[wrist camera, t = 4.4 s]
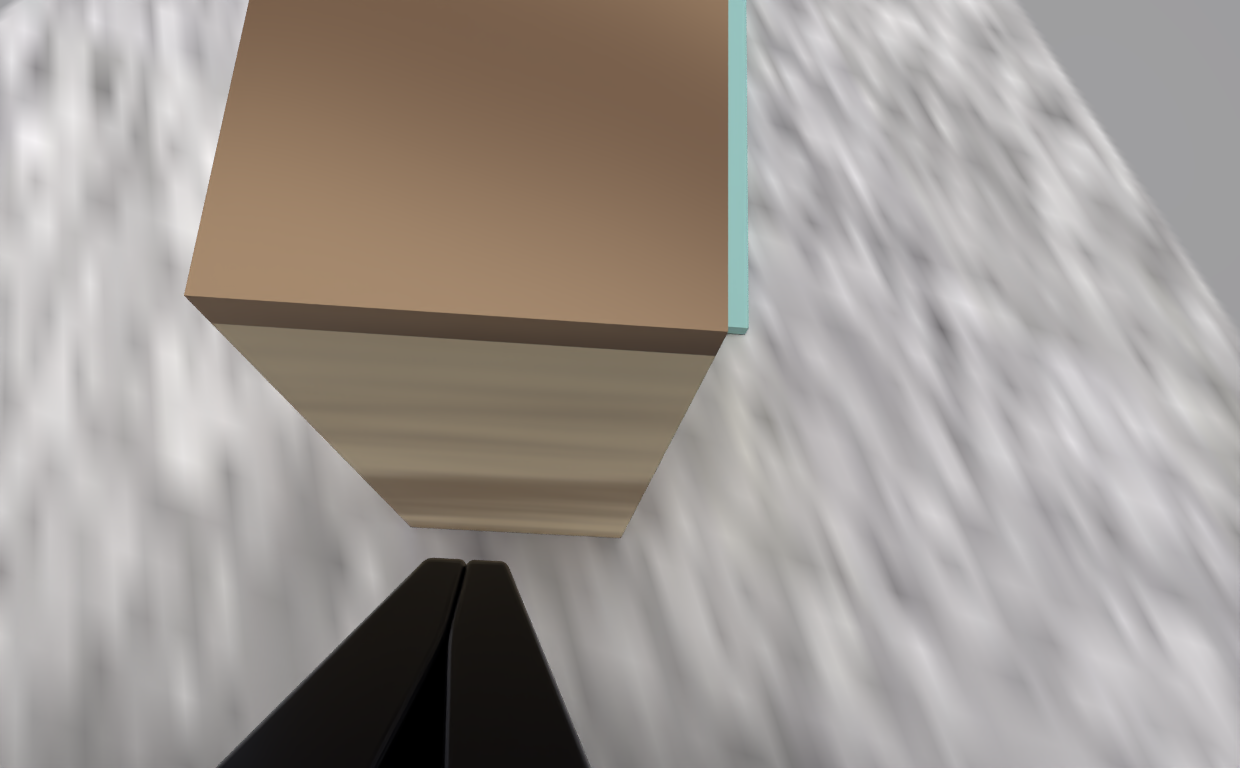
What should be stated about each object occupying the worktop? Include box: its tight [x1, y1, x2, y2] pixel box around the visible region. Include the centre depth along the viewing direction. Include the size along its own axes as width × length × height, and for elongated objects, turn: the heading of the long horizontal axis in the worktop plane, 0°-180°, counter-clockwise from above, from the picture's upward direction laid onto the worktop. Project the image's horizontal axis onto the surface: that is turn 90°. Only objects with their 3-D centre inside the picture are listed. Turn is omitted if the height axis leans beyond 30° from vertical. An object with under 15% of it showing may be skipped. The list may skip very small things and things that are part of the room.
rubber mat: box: [728, 0, 748, 334], centre depth 22 cm, size 12×10×1 cm
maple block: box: [184, 0, 728, 538], centre depth 14 cm, size 4×4×12 cm
